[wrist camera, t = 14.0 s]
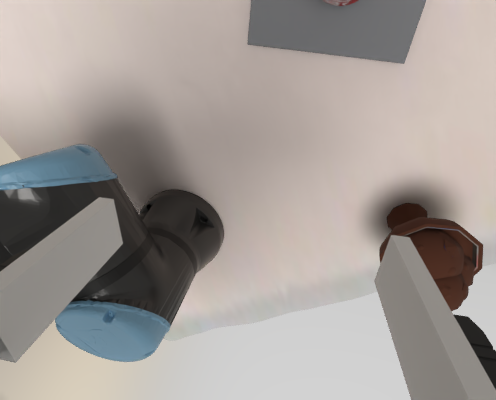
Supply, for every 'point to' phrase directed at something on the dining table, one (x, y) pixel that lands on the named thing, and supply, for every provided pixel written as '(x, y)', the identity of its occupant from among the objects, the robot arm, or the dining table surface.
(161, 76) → the dining table surface
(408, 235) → the ice cream bowl
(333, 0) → the soda can
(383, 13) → the mat
